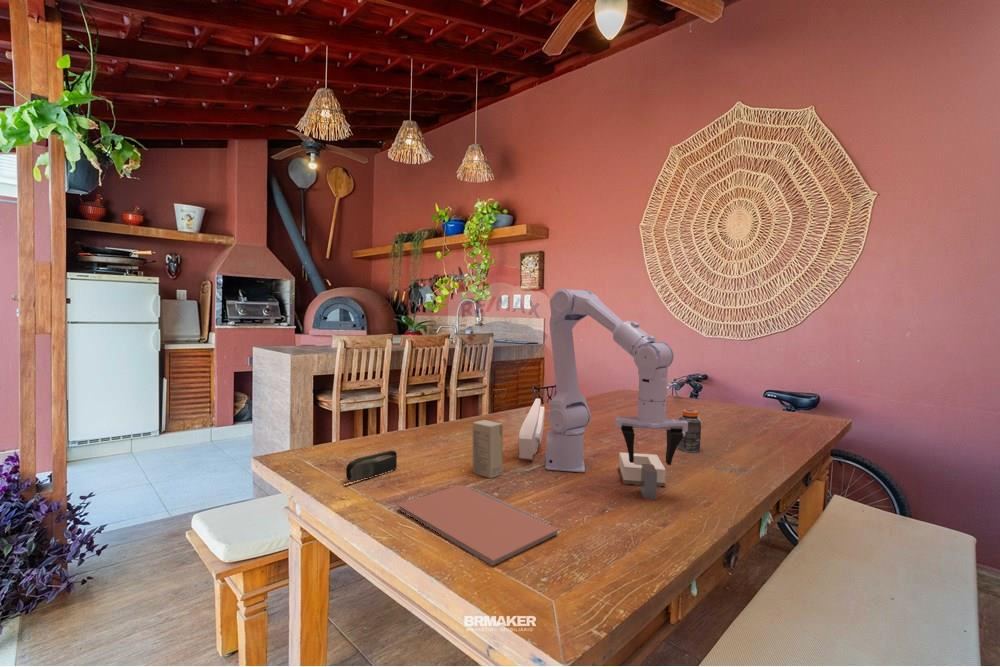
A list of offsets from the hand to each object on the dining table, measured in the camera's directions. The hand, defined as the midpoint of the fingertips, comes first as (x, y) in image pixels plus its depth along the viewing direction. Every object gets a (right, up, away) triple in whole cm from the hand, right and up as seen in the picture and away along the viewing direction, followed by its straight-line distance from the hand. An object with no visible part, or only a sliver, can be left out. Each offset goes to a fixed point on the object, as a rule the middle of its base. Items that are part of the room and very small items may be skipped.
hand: (649, 462), depth 104 cm
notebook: (-36, -8, -14) cm, 40 cm away
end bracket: (0, -7, +1) cm, 7 cm away
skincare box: (-35, -6, +11) cm, 37 cm away
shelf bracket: (-23, -5, +32) cm, 40 cm away
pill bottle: (+22, -6, +35) cm, 41 cm away
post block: (+1, -7, +11) cm, 13 cm away
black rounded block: (-62, -6, +8) cm, 62 cm away
